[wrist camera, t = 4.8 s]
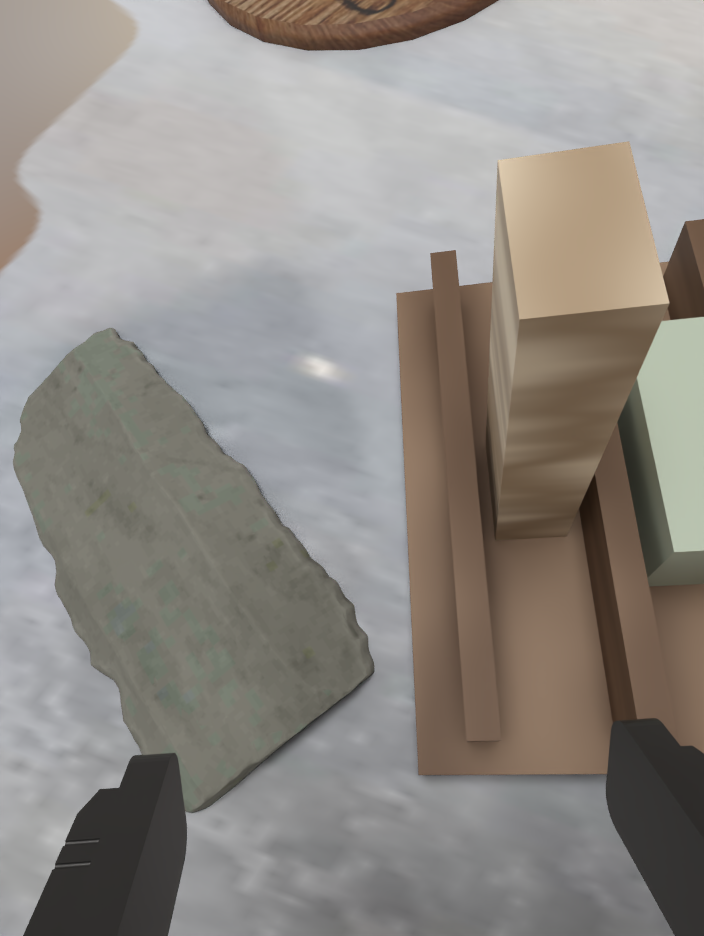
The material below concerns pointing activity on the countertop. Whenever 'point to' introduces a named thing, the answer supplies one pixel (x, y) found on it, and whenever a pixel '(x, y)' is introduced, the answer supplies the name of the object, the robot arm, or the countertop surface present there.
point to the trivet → (343, 20)
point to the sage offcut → (668, 453)
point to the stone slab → (179, 571)
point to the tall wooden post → (564, 328)
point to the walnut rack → (529, 570)
